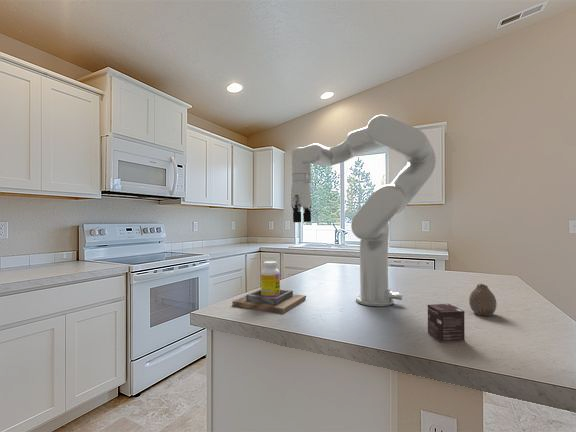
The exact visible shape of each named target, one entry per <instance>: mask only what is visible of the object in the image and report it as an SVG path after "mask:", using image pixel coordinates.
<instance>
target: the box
mask: <svg viewBox="0 0 576 432" xmlns="http://www.w3.org/2000/svg"><path fill="white" fill-rule="evenodd" d="M465 313H466V312H465V311H464V310H463V309H461V308H459V307H457V306H454V305H452V304H450V303H436V304H435V303H434V304H433V303H432V304H427V333H428V334H429V335H430V336H431V337H433V338H434V339H436V340H437V341H439V342H440V343H442V344H443V343H452V342H453V343H454V342H455V343H456V342H465V336H466V335H465Z"/></svg>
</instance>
